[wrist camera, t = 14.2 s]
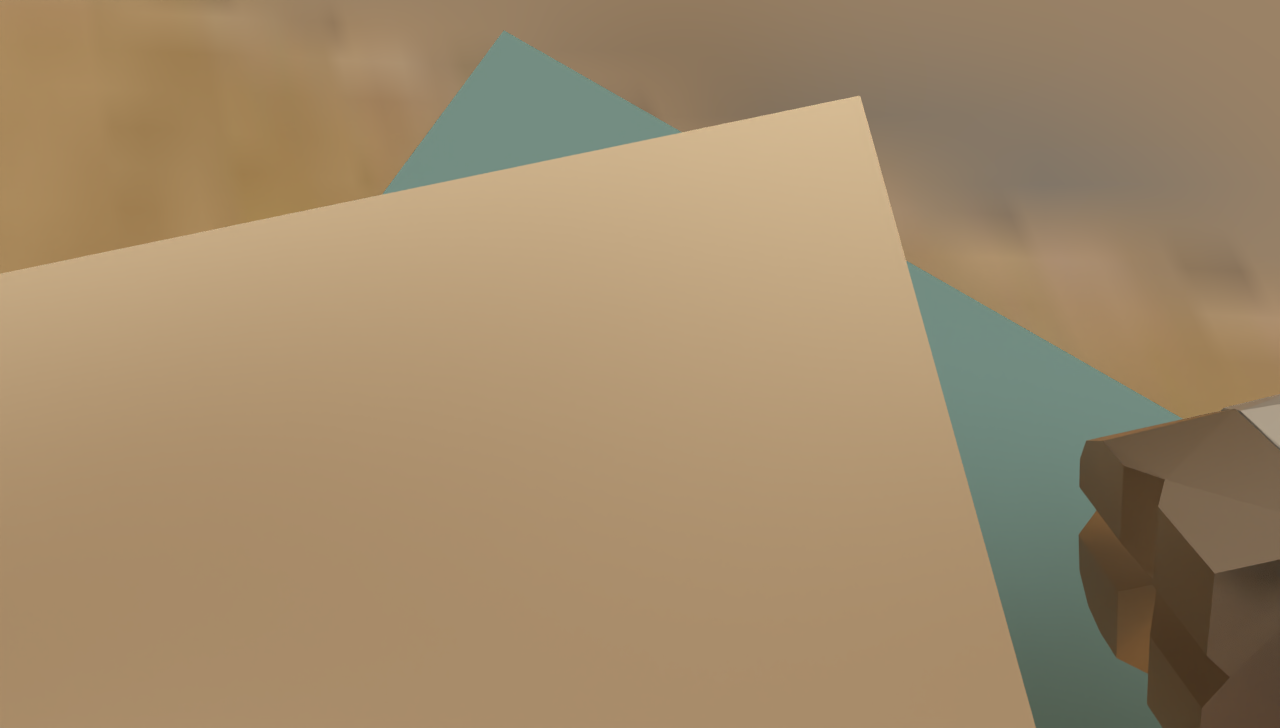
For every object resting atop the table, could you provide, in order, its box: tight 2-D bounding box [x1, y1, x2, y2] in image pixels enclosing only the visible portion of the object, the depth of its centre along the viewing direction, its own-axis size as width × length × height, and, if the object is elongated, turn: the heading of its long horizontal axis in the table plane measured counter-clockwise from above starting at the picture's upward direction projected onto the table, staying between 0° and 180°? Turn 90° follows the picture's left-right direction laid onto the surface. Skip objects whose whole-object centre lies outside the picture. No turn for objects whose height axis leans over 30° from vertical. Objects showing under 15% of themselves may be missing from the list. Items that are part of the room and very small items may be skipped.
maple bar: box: [0, 96, 1036, 728], centre depth 11 cm, size 4×4×14 cm
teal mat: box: [382, 31, 1182, 728], centre depth 18 cm, size 16×16×1 cm
